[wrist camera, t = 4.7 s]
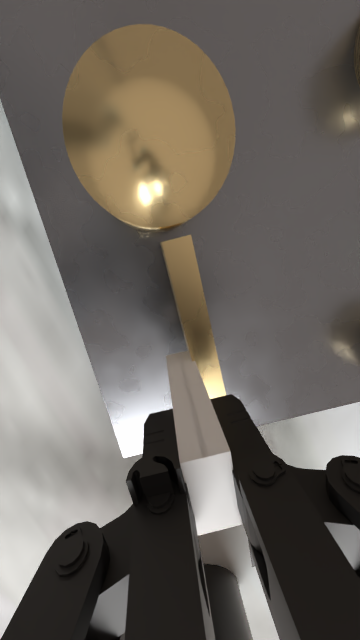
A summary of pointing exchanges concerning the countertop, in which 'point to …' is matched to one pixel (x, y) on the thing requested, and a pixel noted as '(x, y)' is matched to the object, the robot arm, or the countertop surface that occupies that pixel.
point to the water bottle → (226, 605)
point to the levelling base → (212, 205)
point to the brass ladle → (155, 152)
